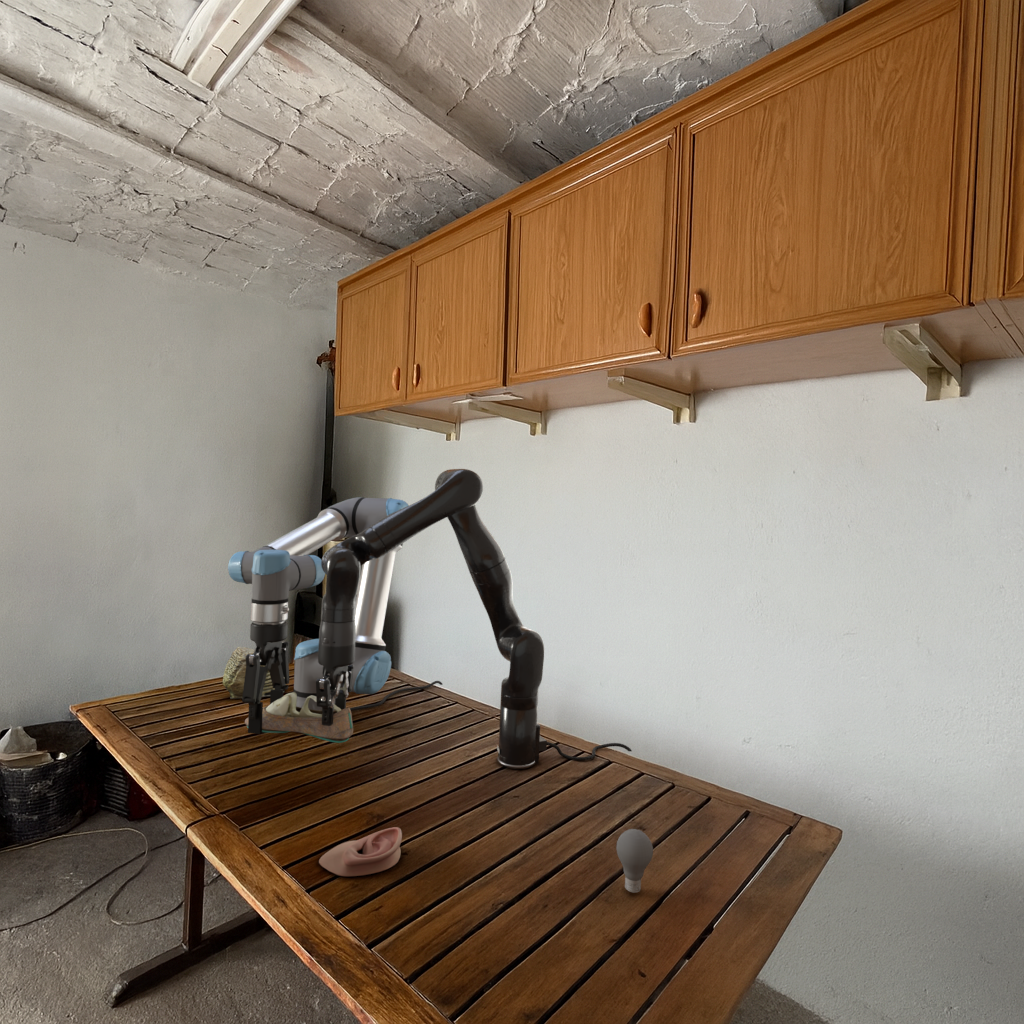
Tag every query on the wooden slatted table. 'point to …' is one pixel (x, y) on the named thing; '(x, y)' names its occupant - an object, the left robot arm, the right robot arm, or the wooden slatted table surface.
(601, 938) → the wooden slatted table surface
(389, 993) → the wooden slatted table surface
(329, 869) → the anatomical model
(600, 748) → the right robot arm
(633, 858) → the light bulb
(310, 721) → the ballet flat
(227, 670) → the fossil
